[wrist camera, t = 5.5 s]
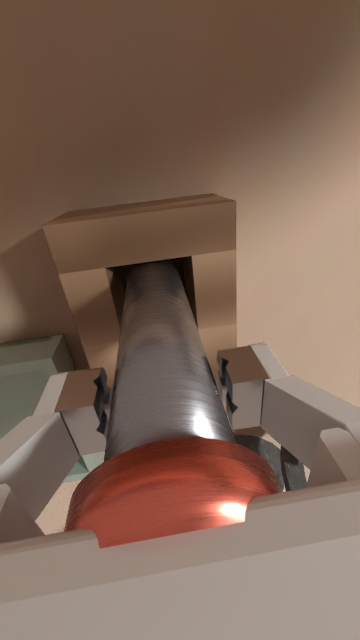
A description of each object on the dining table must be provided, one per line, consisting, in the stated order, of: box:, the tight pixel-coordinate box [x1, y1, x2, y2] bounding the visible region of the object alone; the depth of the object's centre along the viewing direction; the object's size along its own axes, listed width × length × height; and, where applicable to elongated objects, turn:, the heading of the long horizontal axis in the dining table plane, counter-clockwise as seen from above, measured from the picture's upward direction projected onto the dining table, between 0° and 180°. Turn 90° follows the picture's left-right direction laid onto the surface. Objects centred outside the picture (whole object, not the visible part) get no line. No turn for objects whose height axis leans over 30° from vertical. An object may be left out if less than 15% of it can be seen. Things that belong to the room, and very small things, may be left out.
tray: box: [0, 335, 104, 483], centre depth 22 cm, size 13×13×3 cm
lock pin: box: [64, 259, 282, 549], centre depth 10 cm, size 4×4×13 cm
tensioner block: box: [42, 194, 237, 412], centre depth 17 cm, size 14×9×8 cm, turn 6°
